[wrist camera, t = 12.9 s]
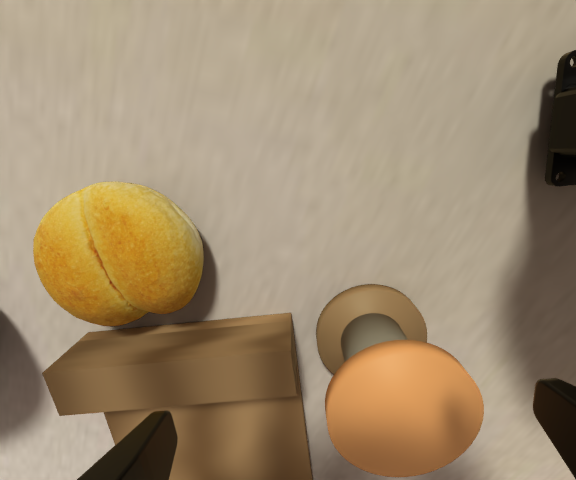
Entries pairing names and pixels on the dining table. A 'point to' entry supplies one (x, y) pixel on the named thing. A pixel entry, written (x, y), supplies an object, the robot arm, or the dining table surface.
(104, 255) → the bread roll
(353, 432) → the orange capped knob
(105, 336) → the notch board
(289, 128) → the dining table surface
